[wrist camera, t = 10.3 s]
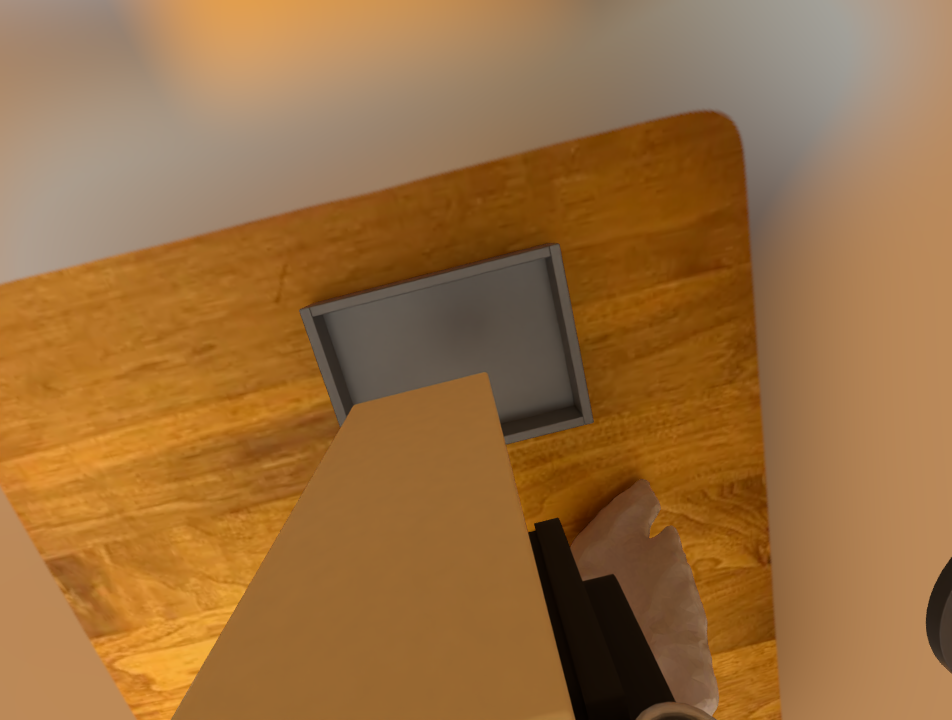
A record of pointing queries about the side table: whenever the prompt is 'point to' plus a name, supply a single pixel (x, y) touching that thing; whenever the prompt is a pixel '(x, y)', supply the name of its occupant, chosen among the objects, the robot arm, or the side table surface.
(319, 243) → the side table surface
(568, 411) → the tray
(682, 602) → the stone
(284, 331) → the side table surface
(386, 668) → the block
